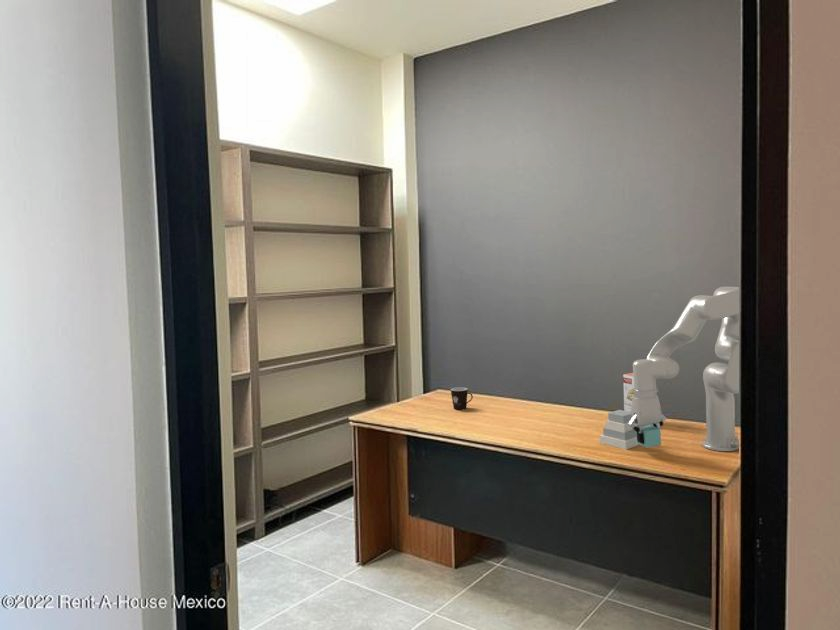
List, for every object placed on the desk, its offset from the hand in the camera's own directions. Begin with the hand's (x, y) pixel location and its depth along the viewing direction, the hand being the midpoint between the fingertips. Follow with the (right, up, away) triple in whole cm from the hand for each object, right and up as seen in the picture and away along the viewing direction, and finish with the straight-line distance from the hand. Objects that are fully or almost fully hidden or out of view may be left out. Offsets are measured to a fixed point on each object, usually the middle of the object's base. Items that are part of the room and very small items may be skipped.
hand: (648, 440), depth 222 cm
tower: (-5, -4, +15) cm, 16 cm away
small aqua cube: (0, -1, 0) cm, 1 cm away
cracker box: (+12, -1, +41) cm, 43 cm away
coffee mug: (-63, -1, +82) cm, 104 cm away
